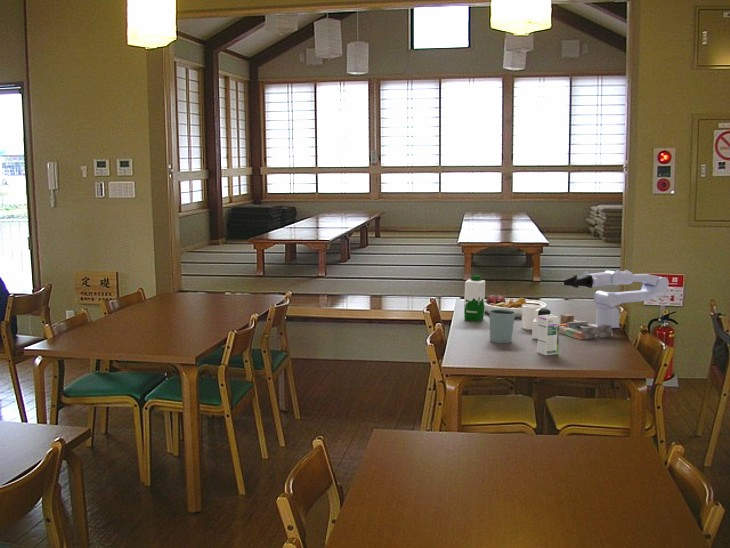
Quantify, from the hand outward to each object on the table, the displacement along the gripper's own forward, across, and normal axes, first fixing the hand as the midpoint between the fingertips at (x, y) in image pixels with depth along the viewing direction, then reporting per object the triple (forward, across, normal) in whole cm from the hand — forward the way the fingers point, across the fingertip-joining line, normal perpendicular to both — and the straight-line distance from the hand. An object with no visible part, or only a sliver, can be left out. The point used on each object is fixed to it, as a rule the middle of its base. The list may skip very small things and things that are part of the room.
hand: (569, 282), depth 346 cm
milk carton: (+28, -36, +15) cm, 48 cm away
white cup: (+15, -11, +19) cm, 26 cm away
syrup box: (+36, +31, +23) cm, 53 cm away
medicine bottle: (+21, +7, +21) cm, 31 cm away
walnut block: (0, -5, +20) cm, 21 cm away
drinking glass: (+40, +6, +20) cm, 45 cm away
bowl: (0, -45, +16) cm, 48 cm away
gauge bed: (-1, +2, +21) cm, 21 cm away
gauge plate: (+2, +4, +21) cm, 21 cm away
